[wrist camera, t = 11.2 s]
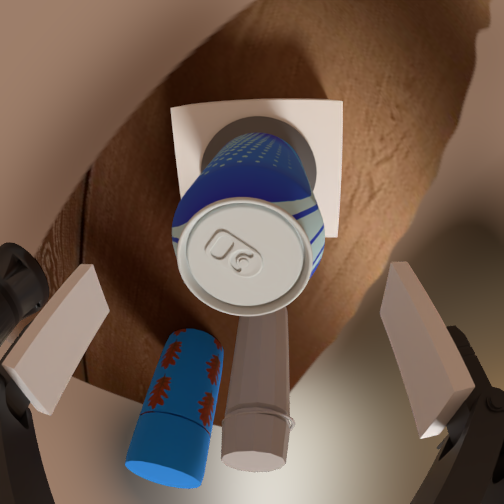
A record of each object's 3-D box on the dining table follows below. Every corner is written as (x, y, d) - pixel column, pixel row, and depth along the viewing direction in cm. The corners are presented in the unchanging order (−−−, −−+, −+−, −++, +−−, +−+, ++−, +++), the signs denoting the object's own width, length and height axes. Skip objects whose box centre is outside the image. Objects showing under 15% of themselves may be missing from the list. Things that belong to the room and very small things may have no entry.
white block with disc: (202, 211, 40) (185, 241, 33) (191, 103, 33) (168, 108, 26) (326, 209, 39) (338, 239, 31) (328, 99, 32) (343, 101, 25)
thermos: (205, 321, 50) (168, 461, 28) (235, 361, 54) (217, 489, 32) (154, 335, 52) (108, 457, 31) (186, 372, 57) (157, 486, 35)
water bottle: (229, 301, 47) (200, 453, 25) (275, 281, 45) (271, 443, 23) (260, 339, 51) (249, 480, 29) (302, 322, 48) (311, 470, 27)
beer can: (291, 121, 26) (315, 158, 12) (310, 205, 30) (340, 314, 16) (202, 144, 27) (132, 205, 14) (228, 223, 31) (194, 337, 17)
